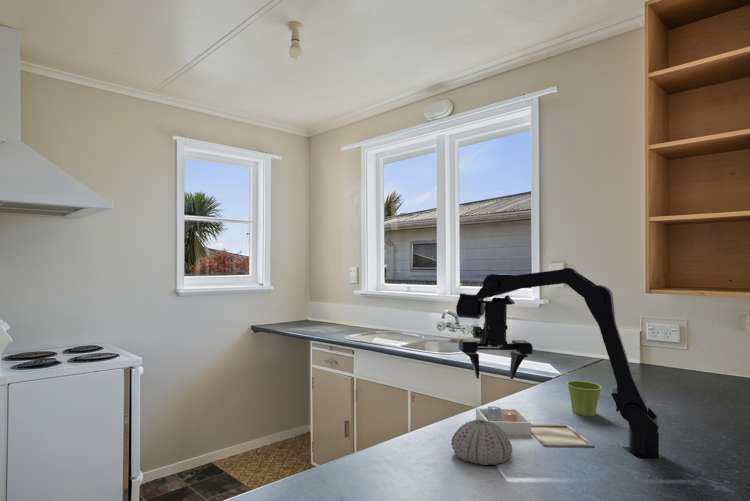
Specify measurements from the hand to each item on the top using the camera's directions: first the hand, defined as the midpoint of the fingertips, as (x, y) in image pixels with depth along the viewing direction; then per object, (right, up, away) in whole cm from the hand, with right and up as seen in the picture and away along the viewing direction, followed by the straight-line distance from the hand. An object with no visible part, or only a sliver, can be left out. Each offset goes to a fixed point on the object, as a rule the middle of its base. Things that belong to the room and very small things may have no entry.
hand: (494, 378), depth 126 cm
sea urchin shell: (-8, -12, -21) cm, 26 cm away
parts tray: (+13, -13, -9) cm, 20 cm away
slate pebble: (0, -12, 0) cm, 12 cm away
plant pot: (+29, -14, +11) cm, 34 cm away
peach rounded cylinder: (+3, -12, -5) cm, 13 cm away
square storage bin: (+1, -13, -3) cm, 13 cm away
